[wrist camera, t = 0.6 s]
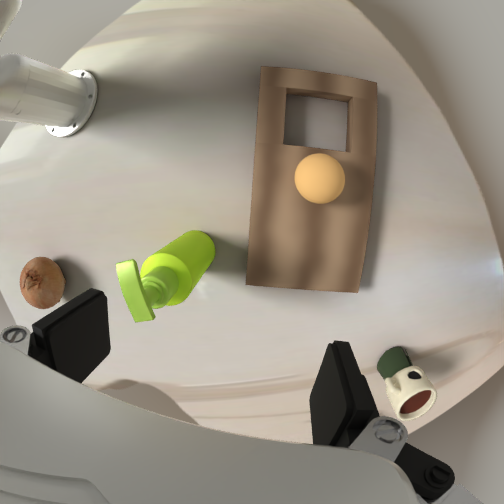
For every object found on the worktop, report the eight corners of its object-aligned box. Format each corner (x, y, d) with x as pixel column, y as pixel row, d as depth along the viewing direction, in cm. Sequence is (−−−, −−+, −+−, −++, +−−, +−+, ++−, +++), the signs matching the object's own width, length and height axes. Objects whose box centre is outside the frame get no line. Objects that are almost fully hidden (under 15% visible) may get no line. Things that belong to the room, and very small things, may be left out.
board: (247, 277, 42) (245, 284, 39) (261, 73, 34) (261, 66, 31) (352, 285, 41) (358, 292, 38) (370, 88, 34) (376, 82, 31)
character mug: (420, 353, 44) (451, 394, 31) (398, 380, 45) (421, 425, 33) (382, 334, 43) (411, 380, 30) (358, 365, 45) (378, 415, 32)
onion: (65, 253, 46) (41, 244, 37) (78, 299, 46) (55, 299, 36) (31, 270, 44) (4, 264, 35) (43, 314, 44) (17, 316, 34)
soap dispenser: (207, 219, 40) (151, 255, 21) (220, 264, 42) (179, 334, 22) (170, 229, 41) (95, 269, 21) (183, 272, 42) (123, 340, 23)
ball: (290, 199, 36) (294, 203, 30) (294, 153, 34) (298, 147, 28) (336, 204, 35) (348, 208, 30) (340, 158, 34) (353, 154, 28)
